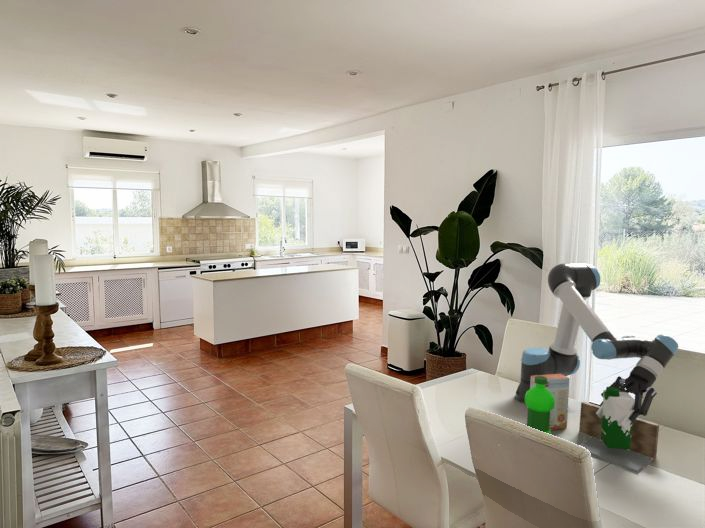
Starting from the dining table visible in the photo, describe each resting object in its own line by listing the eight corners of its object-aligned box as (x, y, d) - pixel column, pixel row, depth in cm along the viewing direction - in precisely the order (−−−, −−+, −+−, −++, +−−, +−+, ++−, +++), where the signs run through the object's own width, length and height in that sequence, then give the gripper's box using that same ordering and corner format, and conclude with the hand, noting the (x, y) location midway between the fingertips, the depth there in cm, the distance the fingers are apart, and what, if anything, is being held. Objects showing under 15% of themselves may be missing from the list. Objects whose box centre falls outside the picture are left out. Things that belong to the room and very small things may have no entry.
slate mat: (576, 449, 169) (576, 446, 169) (592, 439, 178) (592, 437, 178) (637, 473, 154) (637, 470, 154) (651, 461, 162) (651, 458, 162)
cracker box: (557, 422, 192) (560, 372, 190) (567, 429, 186) (570, 377, 184) (526, 425, 189) (530, 374, 187) (536, 431, 183) (539, 379, 181)
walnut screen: (579, 432, 184) (581, 402, 183) (581, 430, 185) (583, 401, 184) (654, 458, 164) (657, 425, 163) (656, 457, 165) (659, 424, 164)
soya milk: (597, 437, 170) (601, 383, 168) (624, 440, 168) (629, 385, 167) (605, 448, 162) (609, 392, 160) (634, 451, 160) (638, 394, 158)
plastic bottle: (546, 453, 166) (551, 384, 163) (517, 443, 172) (521, 377, 170) (556, 443, 173) (560, 378, 171) (527, 434, 180) (531, 371, 178)
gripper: (681, 388, 159) (644, 441, 154) (623, 369, 179) (589, 415, 174) (671, 375, 156) (634, 427, 152) (614, 357, 176) (579, 403, 172)
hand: (610, 421), depth 163 cm, fingers closed on soya milk, 9 cm apart
